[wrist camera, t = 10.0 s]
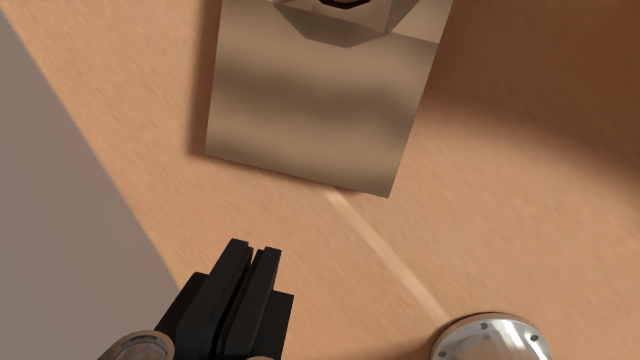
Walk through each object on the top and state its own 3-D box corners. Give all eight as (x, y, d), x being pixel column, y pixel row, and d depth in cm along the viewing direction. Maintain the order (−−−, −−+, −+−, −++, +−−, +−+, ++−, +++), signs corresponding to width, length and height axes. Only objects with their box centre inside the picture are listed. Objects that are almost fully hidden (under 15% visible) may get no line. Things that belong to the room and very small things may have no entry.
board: (383, 184, 33) (388, 198, 30) (218, 144, 33) (204, 154, 29) (481, -124, 25) (502, -151, 21) (260, -182, 24) (248, -218, 21)
